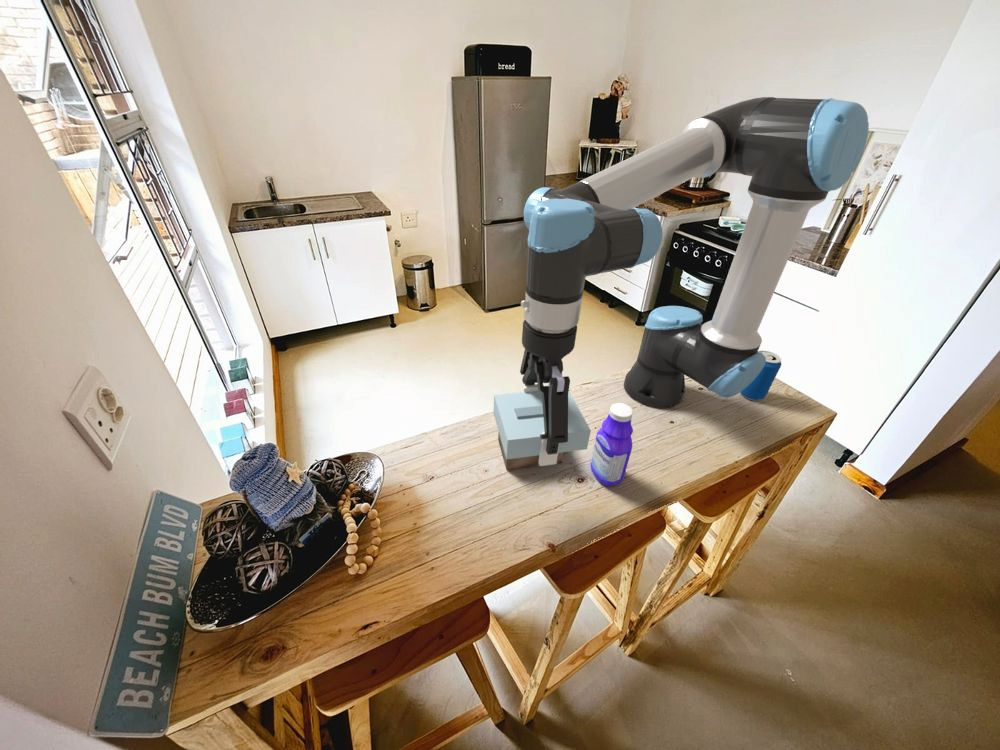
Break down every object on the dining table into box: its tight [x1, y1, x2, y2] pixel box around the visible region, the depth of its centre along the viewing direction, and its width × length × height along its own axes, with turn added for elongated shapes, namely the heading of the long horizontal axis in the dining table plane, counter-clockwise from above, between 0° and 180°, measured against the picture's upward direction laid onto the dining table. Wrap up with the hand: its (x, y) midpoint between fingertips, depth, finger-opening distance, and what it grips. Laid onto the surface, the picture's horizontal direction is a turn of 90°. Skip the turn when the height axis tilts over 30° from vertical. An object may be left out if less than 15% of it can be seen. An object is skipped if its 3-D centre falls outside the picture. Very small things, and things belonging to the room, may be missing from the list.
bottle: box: [590, 402, 634, 487], centre depth 80 cm, size 7×6×17 cm
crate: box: [497, 431, 564, 471], centre depth 88 cm, size 12×9×7 cm
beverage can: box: [739, 350, 782, 402], centre depth 106 cm, size 6×6×12 cm
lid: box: [493, 391, 592, 459], centre depth 67 cm, size 13×11×4 cm
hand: (537, 437), depth 70 cm, fingers closed on lid, 11 cm apart
